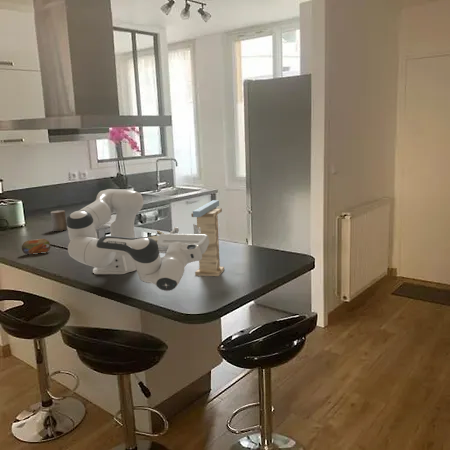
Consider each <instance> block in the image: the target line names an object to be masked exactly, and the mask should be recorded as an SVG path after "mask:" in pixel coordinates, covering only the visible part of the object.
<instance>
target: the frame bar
mask: <svg viewBox="0 0 450 450" xmlns="http://www.w3.org/2000/svg"><path fill="white" fill-rule="evenodd" d="M218 206H220V200H219V199H213V200H211V201H209V202H207V203H205V204H204V205H202V206H199V207H198V208H196V209H194V210H192V213H193V217H192V218H197V217H201V216H203V215H204V214H206V213H207V212H209V211H211V210H212V209H214V208H218Z"/></svg>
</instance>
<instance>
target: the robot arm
mask: <svg viewBox="0 0 450 450" xmlns="http://www.w3.org/2000/svg"><path fill="white" fill-rule="evenodd" d="M143 206H144V198H143V194H141V193H140V192H138V191H135V190H132V189H123V188H122V189H120V188H117V189H116V188H107V189H104V190H100V191H99V192H98V193H97V195H96V198H95V200H94V201H93V202H91V203H89V204H87V205H86V206H84V207H82V208H80V209H79V210H75V211H72V212H70V213H69V214H68V216H67V217H66V224H67V233H68V234H67V235H68V239H69V243H68V245H67V252H68V255H69V257H70V258H71V259H73V260H75V261H76V262H79V263H81V264H83V265H86V266H90V267H93V268H92V273H94V274H93V275H126V274H128V273H130V272H135V271H136V272H137V275H138V278H139V279H140V280H141V282H144V283H147V284H152V285H155V286H156V288H158V289H159V290H161V291H166V292H168V291H173V290H175V289H176V288H177V287H178V285H179V284H180V282H181V280H182V278H183V275H184V273H185V268H186V266H187V264H190V263H191V264H192V263H193V262H194V263H195V262H199V260H201V259H202V254H204V253H205V251H206V250H207V247H208V245H209V238H208V236H207V235H206V234H201V228H197V229H196V233H197V234H194V233H179V231H180V229H179V227H178V226H177V227H175V226H174V228H173V229H172V230H171V231H170V232H168V233H164V234H159V235H158V236H159V237H158V241H157V242H156V241H155V240H153V239H151V238H149V236H148V237H147V236H142V237H135V220H136V217H137V214H138V213H139V212H140V211H141V210H142V209H143ZM113 214H116V215H115V220H114V221H113V222H111V223H110V226H109V230H110V232H109V233H110V235H105V236H102V237H100V238H98V233H97V231H96V230H98V229H99V228H101V227H102V226H103V225H104V226H105V225H106V224H108V223H109V222H110V221H111V218H112V215H113ZM161 254H164V256H163V257H162V256H161Z"/></svg>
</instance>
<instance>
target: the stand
mask: <svg viewBox="0 0 450 450" xmlns="http://www.w3.org/2000/svg"><path fill="white" fill-rule="evenodd" d="M222 212H223V209H222V208H221V207H220V208H218V207H216V208H214V209H212V210H211V211H209V212H207V213H206V214H204V215H203V216H201V217H196V223H197V228H201V234H206V235H207V236H208V238H209V245H208V247H207V250H206V251H205V253H204V254H202V259H201V260H199V261H198V265H199V267H198V269H197V270H195V272H194V275H195V276H200V277H201V276H202V277H203V276H204V277H205V276H206V277H220V275H221V274H222V273H223V272H224V271H225V266H221V265H220V264H221V263H220V262H221V261H220V244H219V243H220V241H219V239H220V238H219V219H218V215H219V214H220V213H222ZM191 218H194V217H193V212H192V213H191Z"/></svg>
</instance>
